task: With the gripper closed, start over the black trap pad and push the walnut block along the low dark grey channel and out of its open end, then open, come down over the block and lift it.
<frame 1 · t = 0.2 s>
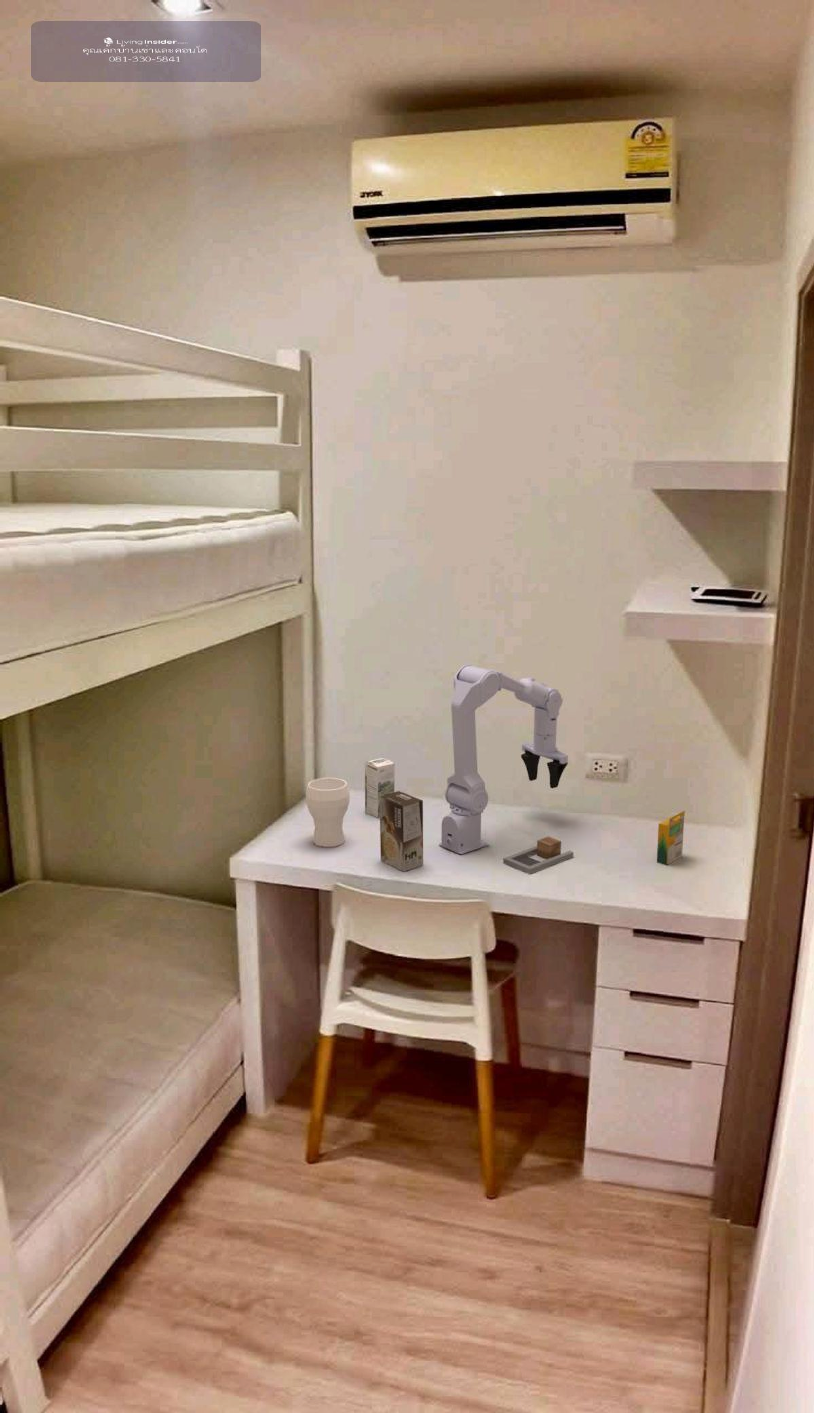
hand: (543, 783, 260), 10 cm above the table, tool pointing down, fingers open, 7 cm apart
cup: (328, 842, 249), on the table
coffee box: (401, 863, 236), on the table
walnut block: (548, 856, 239), resting in guide channel
guide channel: (540, 859, 237), on the table
crayon box: (669, 860, 237), on the table
trap pad: (530, 863, 235), resting in guide channel
syrup box: (379, 814, 268), on the table
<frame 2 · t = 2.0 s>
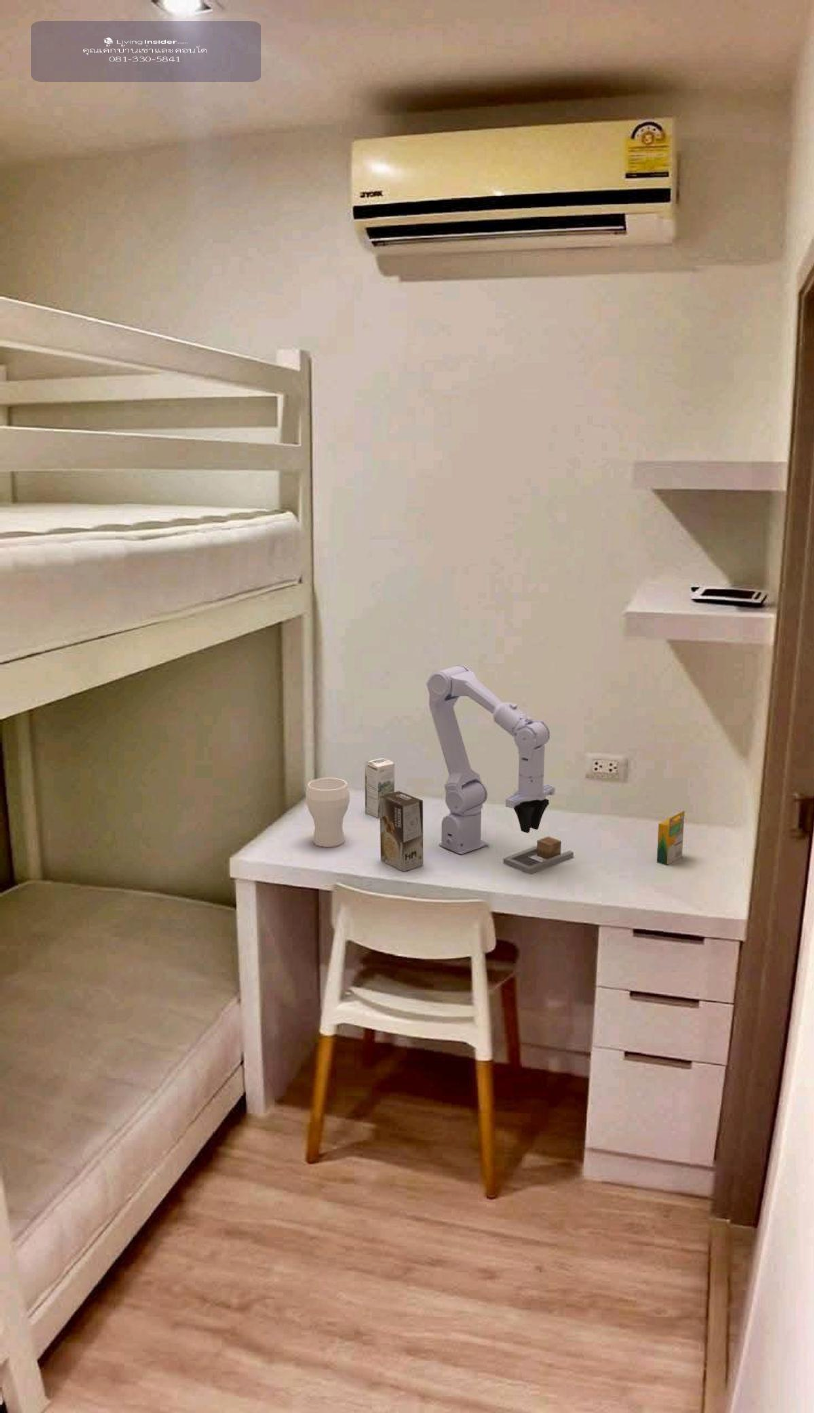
hand: (529, 830, 233), 8 cm above the table, tool pointing down, fingers closed
nothing on the table moved.
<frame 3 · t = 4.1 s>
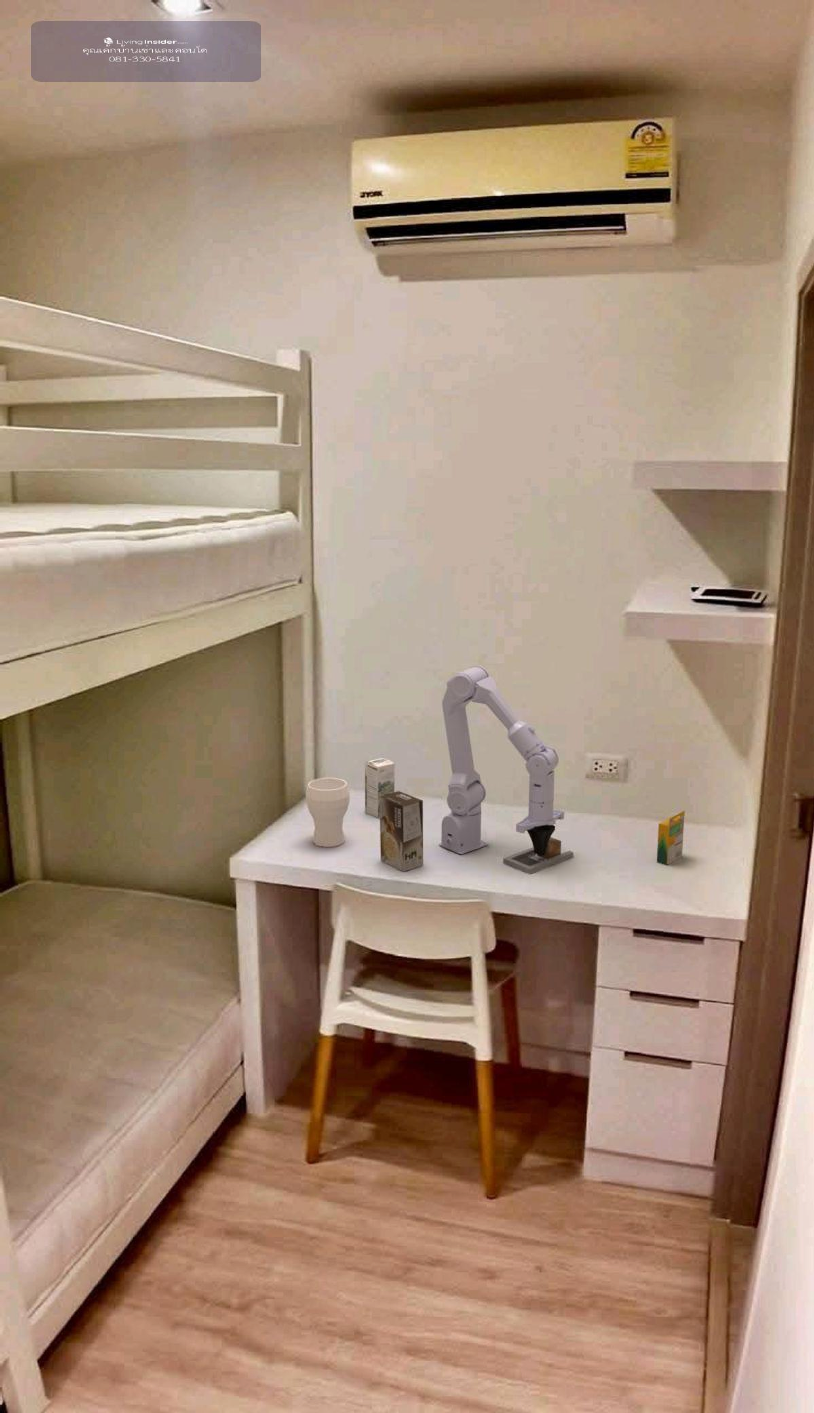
hand: (539, 854, 237), 1 cm above the table, tool pointing down, fingers closed
walnut block: (548, 856, 239), resting in guide channel, touching gripper
everything else where it was.
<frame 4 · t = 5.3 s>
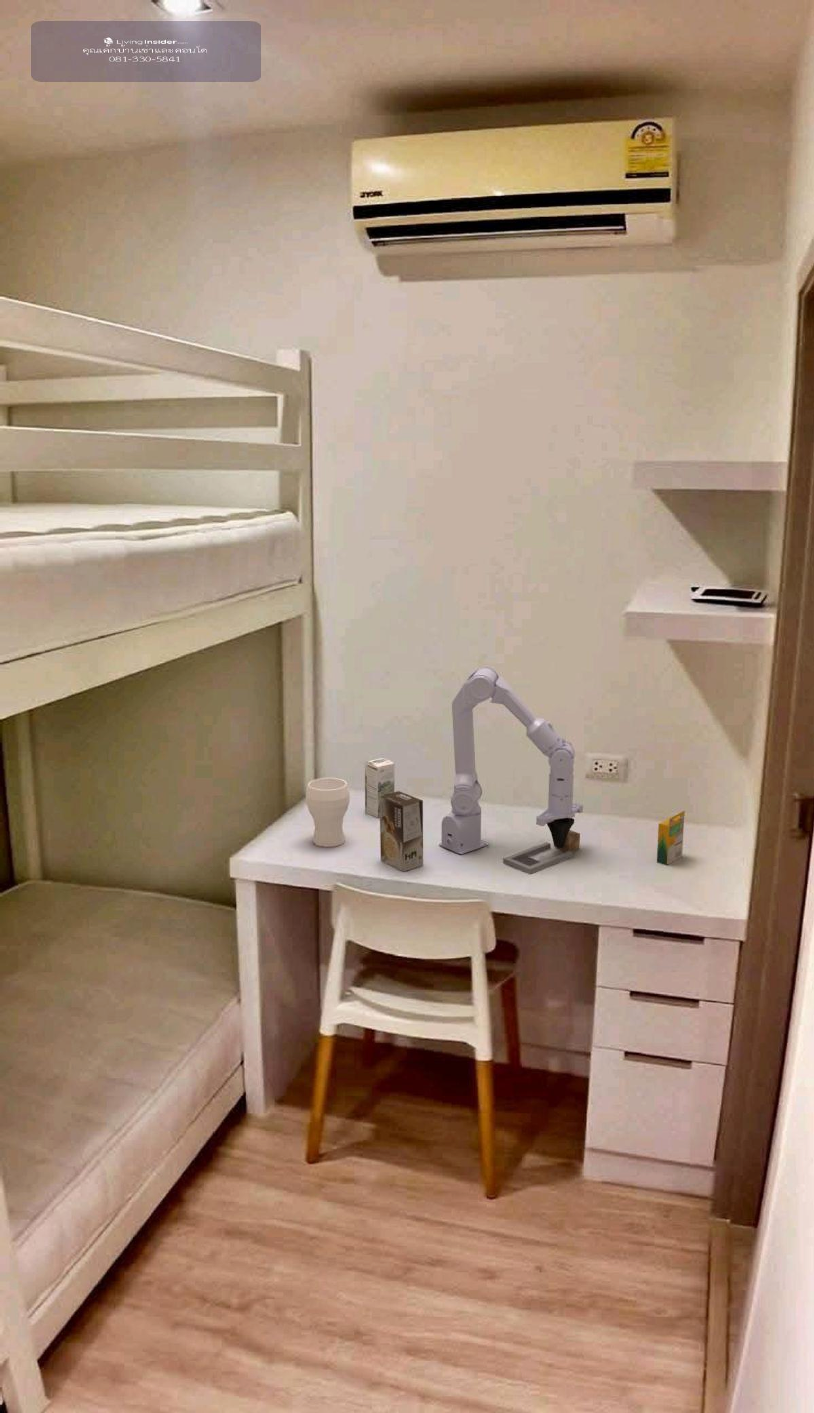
hand: (558, 846, 241), 1 cm above the table, tool pointing down, fingers closed
walnut block: (567, 848, 244), on the table, touching gripper
everything else where it was.
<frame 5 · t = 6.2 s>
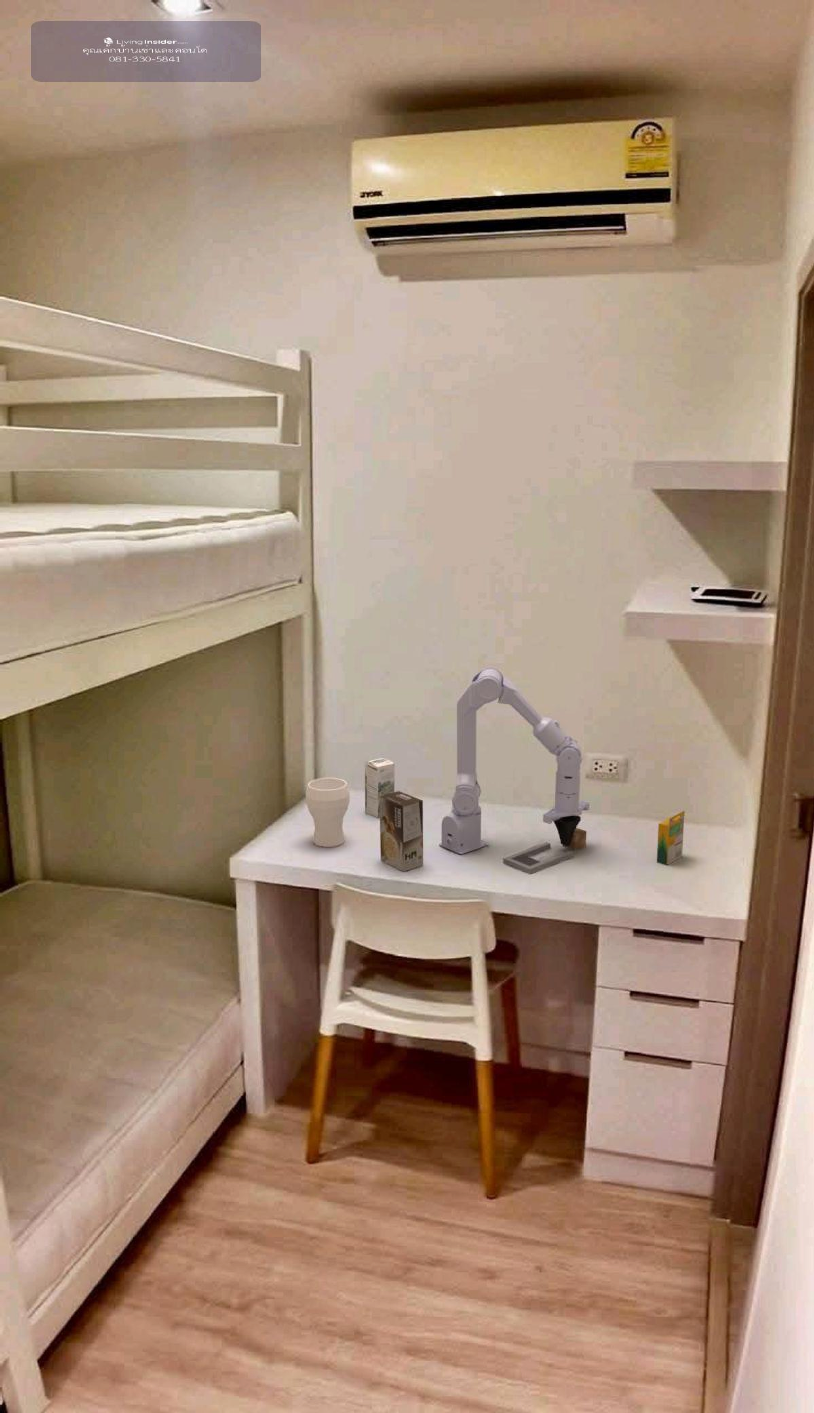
hand: (565, 844, 243), 1 cm above the table, tool pointing down, fingers closed
walnut block: (574, 846, 245), on the table, touching gripper
everything else where it was.
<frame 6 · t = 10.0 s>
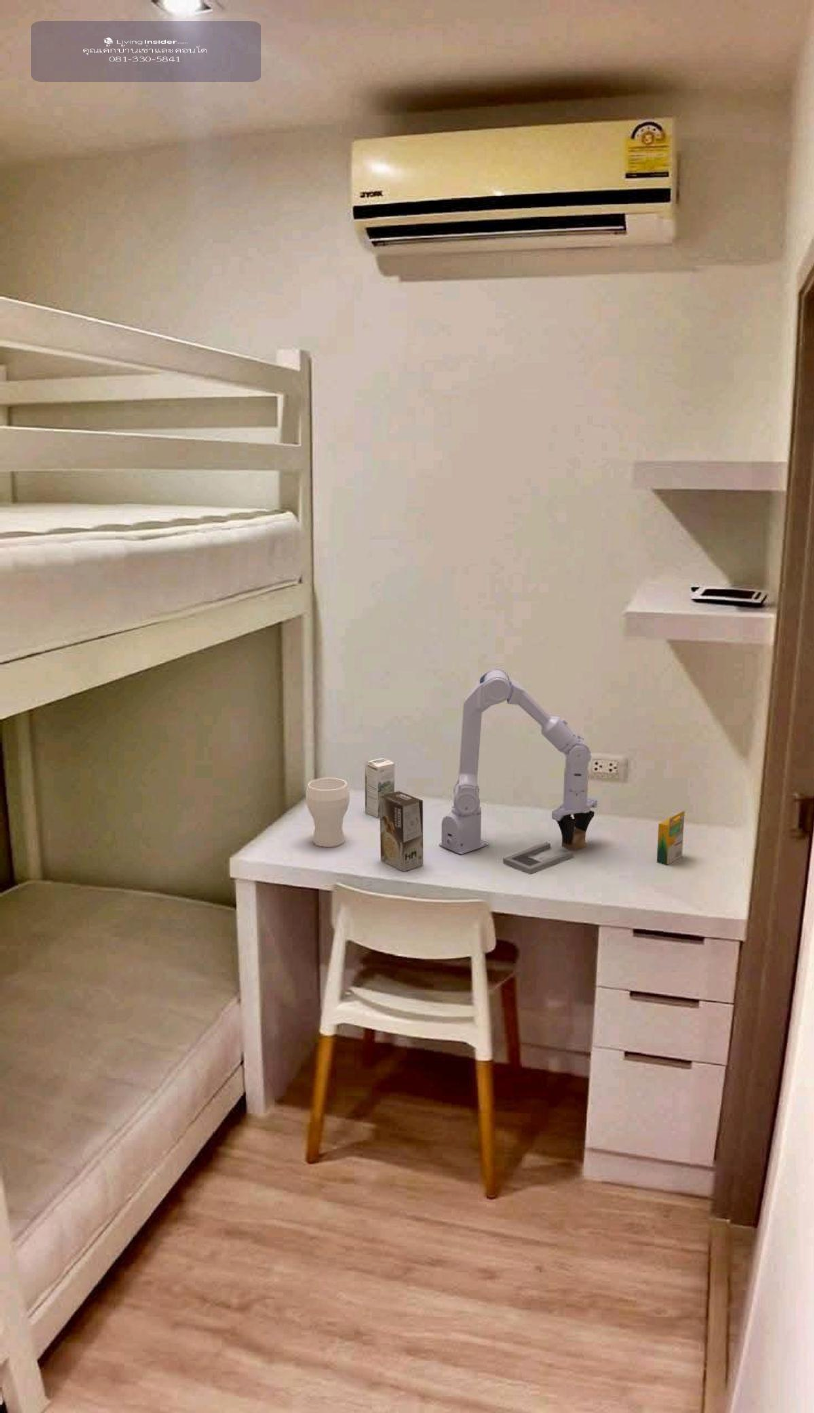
hand: (573, 841, 245), 1 cm above the table, tool pointing down, fingers closed on walnut block, 4 cm apart
walnut block: (573, 846, 245), on the table, touching gripper
everything else where it was.
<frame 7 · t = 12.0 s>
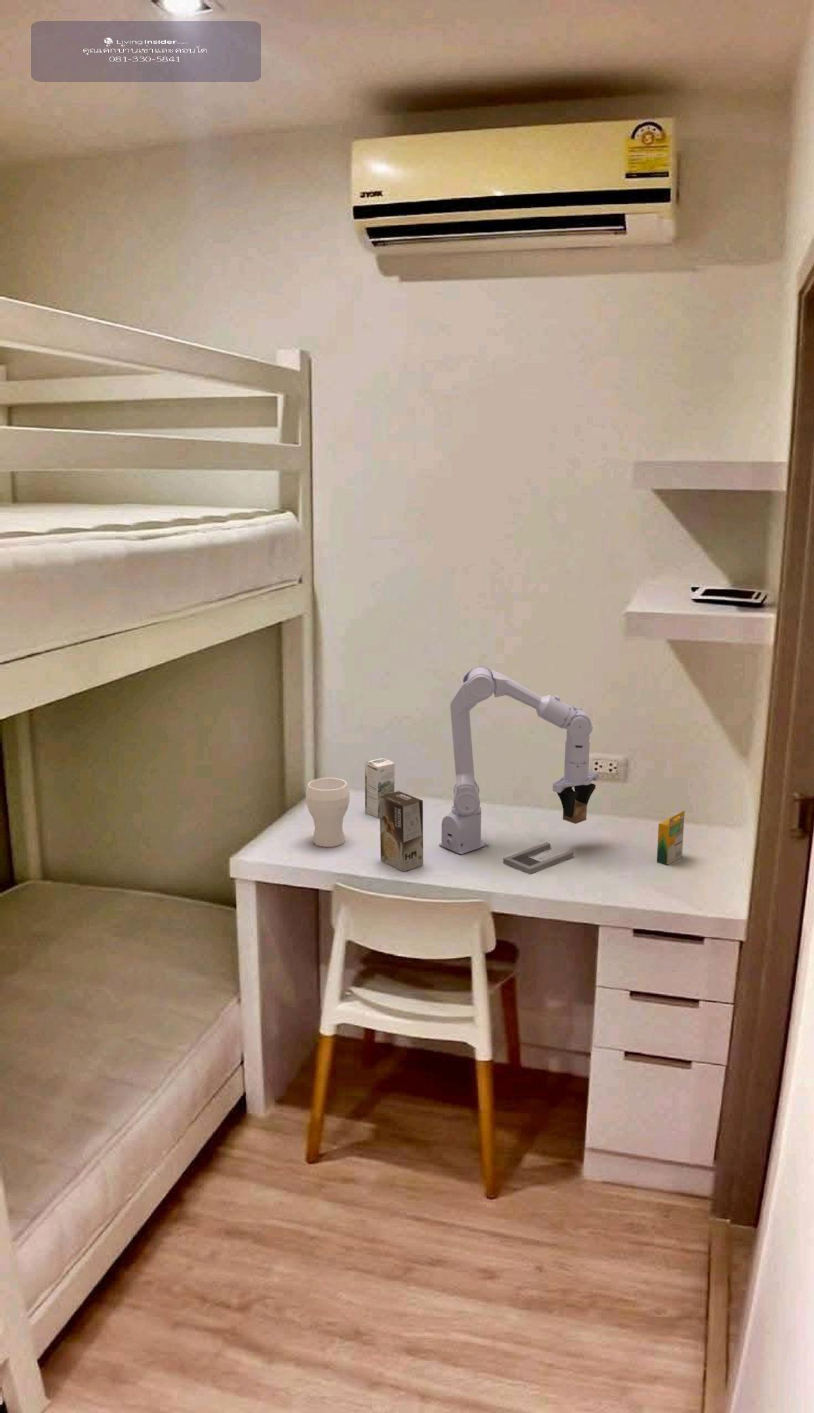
hand: (574, 814, 243), 8 cm above the table, tool pointing down, fingers closed on walnut block, 4 cm apart
walnut block: (574, 819, 243), point 7 cm above the table, touching gripper
everything else where it was.
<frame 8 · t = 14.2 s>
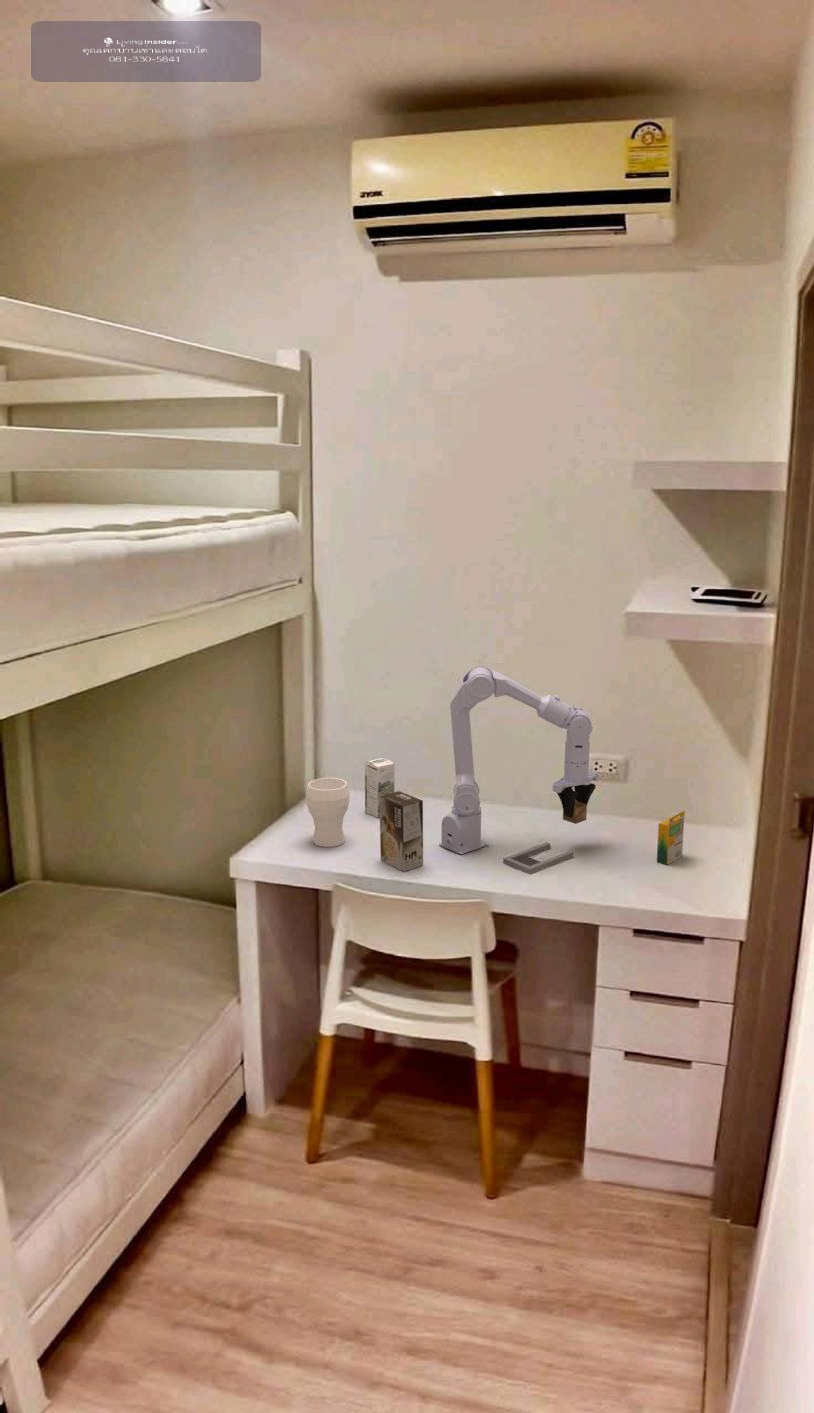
hand: (574, 814, 243), 8 cm above the table, tool pointing down, fingers closed on walnut block, 4 cm apart
walnut block: (574, 819, 243), point 7 cm above the table, touching gripper
everything else where it was.
at the end: the gripper is holding walnut block; walnut block point 6.9 cm above the table; walnut block inside the target area (0.5 cm from its centre), point 6.9 cm above the table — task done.
